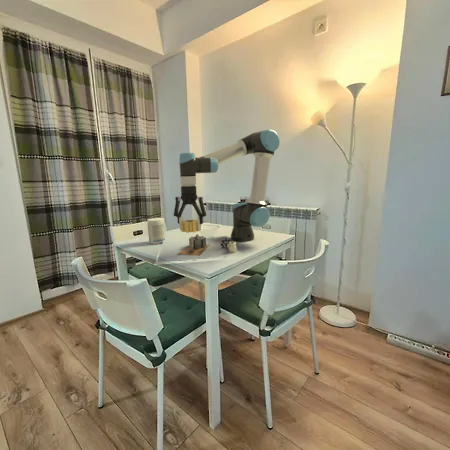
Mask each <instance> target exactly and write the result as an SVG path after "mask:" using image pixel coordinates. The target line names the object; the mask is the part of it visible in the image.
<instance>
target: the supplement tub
mask: <svg viewBox="0 0 450 450" xmlns="http://www.w3.org/2000/svg"><path fill="white" fill-rule="evenodd" d="M146 221H147V224H146V225H147V232H148V233H147V234H148V242H149V244H151V245H159V244H163V243H164V241H166V237H165V235H166V233H165V223H164V218H162V217H154V218H153V217H152V218H148V219H147V220H146Z"/></svg>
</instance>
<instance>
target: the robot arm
mask: <svg viewBox="0 0 450 450" xmlns="http://www.w3.org/2000/svg"><path fill="white" fill-rule="evenodd" d="M280 142H281V141H280V136H279V134H278V133H277V131H275V130H273V129H263V130H260V131H256V132H253V133H251V134H249V135H246V136H245V137H243V138H241V139H238V140H237V141H236V142H235V143H232V144H230V145H227V146H225V147H222V148H220V149H217V150H215V151H213V152H209V153H207V154H204V155H201V156H199V157H196V153H194V152H182V153H180V154H179V160H178V161H179V162H178V163H179V173H180V176H179V178H180V193H181V195H180V196H175V198H174V199H175V205H174V211H173V217H175V218H176V219H177V225H178V224H179V231H182V228H181V221H184V219H183V216H182V215H183V212H184V210H185V208H186V206H187V205H190V206H192V207H193V208H194V210H195V212H196V214H197V216H198V218H197V220H198V231H197V232H200V231H202V224H204V219H203V218H204V217H206V216H207V213H206V209H205V205H204V197H203V196H198V195H197V186H196V184H197V175H196V174H213V173H214V174H215V173H217V172H218V169H219V165H221V164H223V163H226V162H228V161H231V160H233V159H235V158H239V157H240V156H242V157H244V156H247V155H250V154H251V155H252V154H253V156H254V164H253V172H252V181H251V191H250V197H249V200H247V201H246V202H237V203H233V204H232V223H233V224H232V225H233V227H232V230H231V234H230V240H232V241H234V242H250V241H253V240H255V232H254V230H253V228H252V227H256V228H261V227H262V228H263V227H264V226H265V225H266V224H267V223H268V222H269V220H270V216H271V214H270V211H269V209H268V208H267V207H268V203H267V202H266V196H267V189H268V180H269V173H270V164H271V160H272V159H273V157H274V156H275V151H277V150H278V149H279V147H280ZM181 201H182V203H181ZM197 201H198V203H199V205H198V203H197ZM180 203H181V204H180ZM180 205H181V206H180ZM199 207H200V208H199Z"/></svg>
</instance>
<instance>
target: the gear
mask: <svg viewBox="0 0 450 450" xmlns="http://www.w3.org/2000/svg"><path fill="white" fill-rule="evenodd" d="M190 239H193V247H194V248H195V249H199V248H205V246H206V244H207V238H206V236H203V235H201V236H200V235H199V239H196V236H191V237H189V238H188V241H189V240H190ZM188 246H189V248H190V245H189V244H188Z"/></svg>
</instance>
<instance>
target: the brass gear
mask: <svg viewBox="0 0 450 450" xmlns="http://www.w3.org/2000/svg"><path fill="white" fill-rule="evenodd" d="M181 228H182V230H181V232H182V233H186V234H188V233H196V232H199V231H198V219H193V218H192V219H185V220H184V219H183V221H181Z"/></svg>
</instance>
